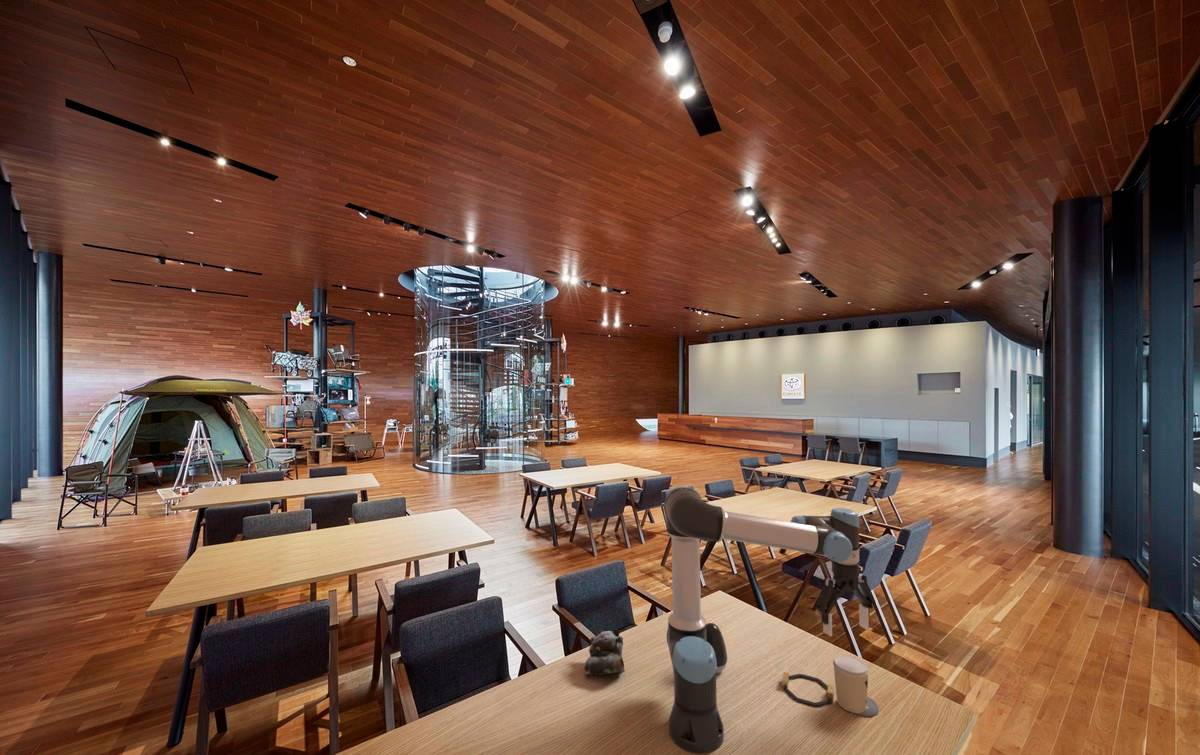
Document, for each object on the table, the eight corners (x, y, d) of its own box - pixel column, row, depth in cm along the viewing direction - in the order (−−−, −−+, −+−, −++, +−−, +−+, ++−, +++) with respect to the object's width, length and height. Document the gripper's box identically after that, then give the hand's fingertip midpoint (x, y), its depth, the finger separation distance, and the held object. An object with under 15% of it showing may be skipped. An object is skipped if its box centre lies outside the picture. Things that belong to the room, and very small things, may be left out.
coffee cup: (875, 716, 132) (874, 673, 132) (842, 714, 133) (841, 672, 133) (860, 694, 141) (859, 655, 141) (828, 693, 142) (827, 654, 142)
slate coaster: (859, 720, 131) (859, 717, 131) (832, 697, 141) (832, 695, 141) (886, 712, 134) (886, 710, 134) (858, 690, 144) (858, 688, 144)
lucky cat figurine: (575, 674, 154) (578, 627, 161) (599, 673, 161) (600, 629, 168) (609, 677, 145) (610, 628, 152) (633, 677, 153) (632, 629, 160)
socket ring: (805, 710, 135) (804, 701, 136) (774, 681, 149) (774, 673, 149) (843, 700, 139) (843, 692, 139) (810, 672, 153) (809, 665, 153)
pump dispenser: (690, 668, 156) (689, 623, 157) (708, 656, 163) (707, 613, 163) (715, 682, 149) (714, 635, 149) (733, 669, 156) (732, 624, 156)
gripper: (820, 569, 133) (821, 643, 132) (888, 561, 139) (889, 631, 139) (802, 560, 140) (803, 630, 140) (867, 552, 147) (868, 619, 146)
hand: (846, 630), depth 139 cm, fingers open, 13 cm apart
